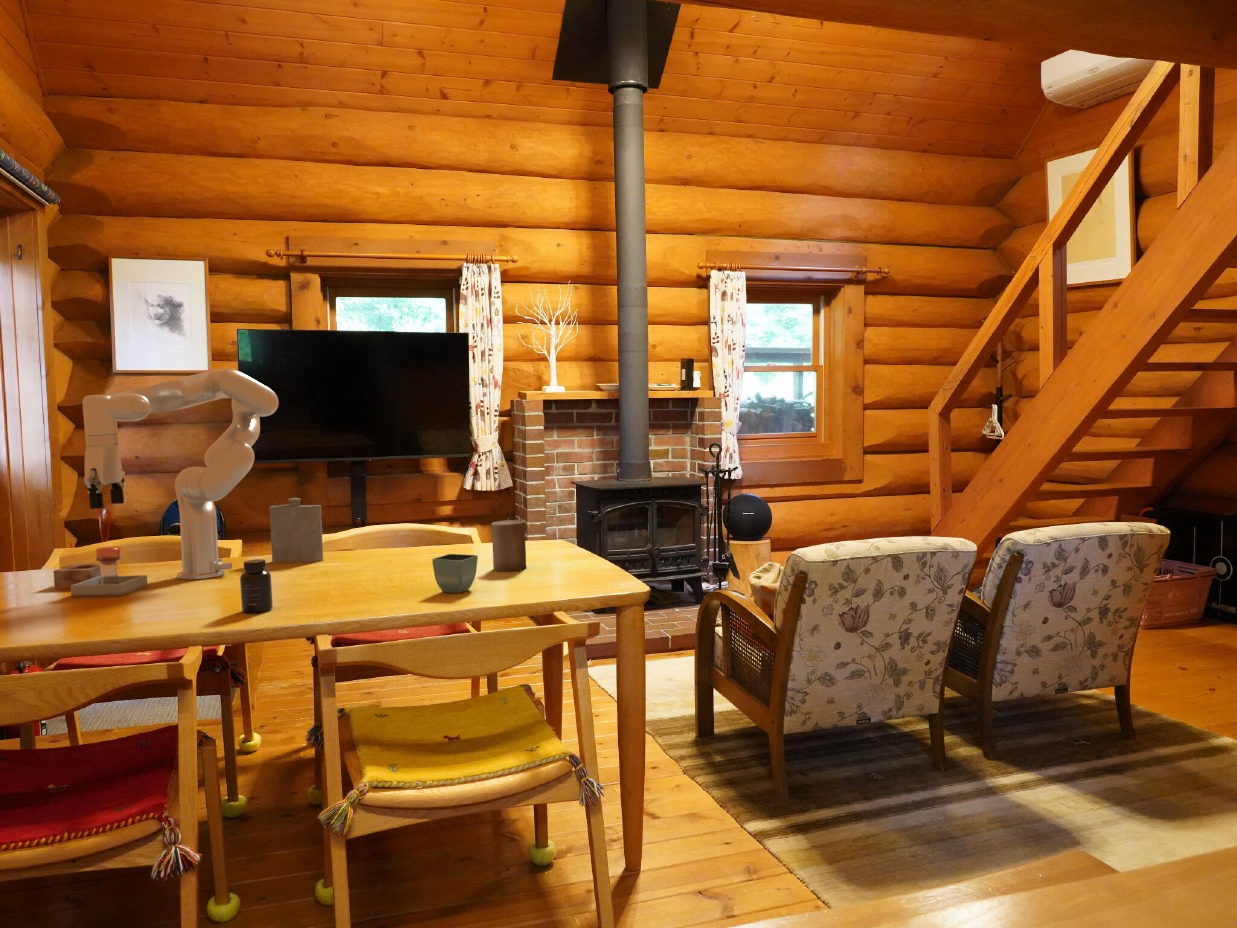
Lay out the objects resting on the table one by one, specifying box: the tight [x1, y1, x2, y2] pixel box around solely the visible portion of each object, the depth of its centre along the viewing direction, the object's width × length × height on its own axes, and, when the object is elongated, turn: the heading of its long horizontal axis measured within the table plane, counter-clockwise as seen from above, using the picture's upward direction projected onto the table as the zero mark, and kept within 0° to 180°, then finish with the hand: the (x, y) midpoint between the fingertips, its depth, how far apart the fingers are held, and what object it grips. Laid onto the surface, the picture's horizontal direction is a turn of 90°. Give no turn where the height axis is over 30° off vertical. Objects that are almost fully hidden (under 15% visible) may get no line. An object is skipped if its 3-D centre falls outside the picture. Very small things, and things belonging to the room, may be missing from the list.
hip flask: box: [269, 497, 324, 564], centre depth 281 cm, size 16×4×20 cm, turn 89°
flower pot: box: [431, 553, 479, 594], centre depth 230 cm, size 9×9×9 cm
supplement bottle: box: [239, 558, 273, 615], centre depth 212 cm, size 7×7×12 cm
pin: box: [95, 546, 122, 584], centre depth 239 cm, size 6×6×11 cm
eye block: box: [53, 563, 101, 590], centre depth 249 cm, size 10×10×5 cm
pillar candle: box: [491, 517, 527, 572], centre depth 261 cm, size 10×10×15 cm
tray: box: [70, 574, 148, 598], centre depth 239 cm, size 13×13×3 cm
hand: (107, 505), depth 238 cm, fingers open, 9 cm apart
